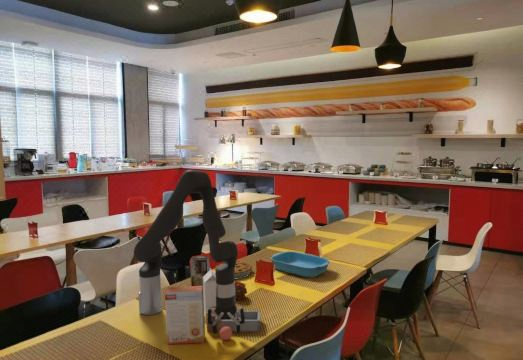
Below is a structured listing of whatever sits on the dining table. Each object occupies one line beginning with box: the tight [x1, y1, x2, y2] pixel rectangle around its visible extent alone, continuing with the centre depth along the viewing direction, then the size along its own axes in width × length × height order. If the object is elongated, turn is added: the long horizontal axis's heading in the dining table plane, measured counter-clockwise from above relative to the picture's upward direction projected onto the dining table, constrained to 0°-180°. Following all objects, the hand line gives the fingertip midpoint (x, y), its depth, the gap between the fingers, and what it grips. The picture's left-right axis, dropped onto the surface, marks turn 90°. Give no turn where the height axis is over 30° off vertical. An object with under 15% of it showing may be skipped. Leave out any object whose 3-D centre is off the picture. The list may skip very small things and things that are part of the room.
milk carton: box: [203, 267, 216, 315], centre depth 179 cm, size 7×7×19 cm
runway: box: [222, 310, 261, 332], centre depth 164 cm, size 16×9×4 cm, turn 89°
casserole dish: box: [270, 250, 330, 278], centre depth 233 cm, size 37×22×7 cm, turn 48°
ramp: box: [206, 307, 225, 333], centre depth 165 cm, size 7×9×6 cm
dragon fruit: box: [234, 280, 248, 300], centre depth 194 cm, size 8×8×12 cm
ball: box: [219, 326, 233, 341], centre depth 154 cm, size 5×5×5 cm
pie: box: [214, 260, 253, 280], centre depth 229 cm, size 22×22×5 cm
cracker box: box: [164, 285, 206, 345], centre depth 153 cm, size 14×6×21 cm, turn 92°
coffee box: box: [189, 255, 211, 286], centre depth 207 cm, size 9×6×16 cm
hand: (226, 333), depth 154 cm, fingers open, 8 cm apart
